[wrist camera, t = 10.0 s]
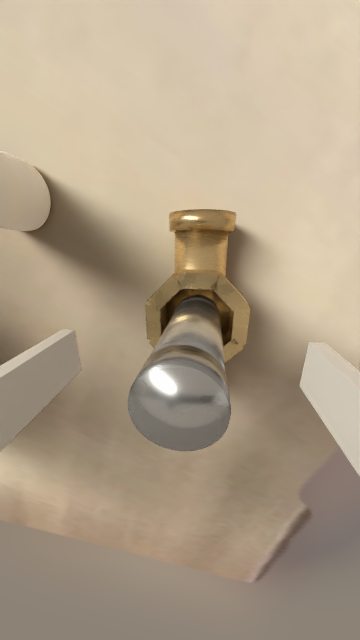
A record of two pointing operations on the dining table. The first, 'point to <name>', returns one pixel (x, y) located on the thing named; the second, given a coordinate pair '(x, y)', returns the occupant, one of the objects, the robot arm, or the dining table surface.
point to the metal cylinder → (184, 381)
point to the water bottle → (22, 195)
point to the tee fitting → (201, 276)
